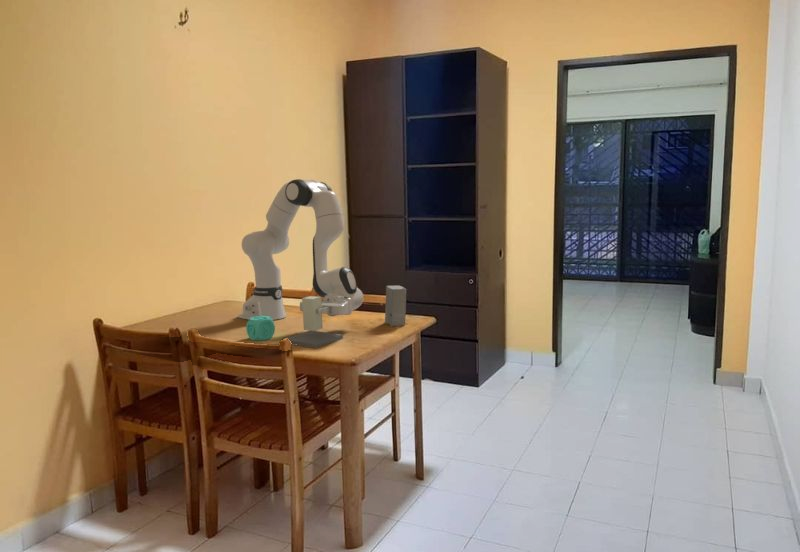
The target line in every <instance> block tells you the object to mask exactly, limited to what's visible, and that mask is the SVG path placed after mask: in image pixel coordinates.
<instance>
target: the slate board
mask: <svg viewBox="0 0 800 552" xmlns="http://www.w3.org/2000/svg"><path fill="white" fill-rule="evenodd" d="M287 338H288V339H289V340H290V341H291V343H292V344H297V345H296V346H299V345H301V346H300V347H305V346H307V347H308V348H312V347H313V349H314V348H315V349H318V348H320V346H321V347H323V346H327V345H328V344H331V343H335V342H338V341H340V340H343V339H344V334H343V333H334V332H326V331H318V330H316V331H310V330H305V332H301V333H298V334H294V335H291V336H287ZM292 344H291V345H292Z"/></svg>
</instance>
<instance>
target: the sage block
mask: <svg viewBox="0 0 800 552" xmlns="http://www.w3.org/2000/svg"><path fill="white" fill-rule="evenodd" d="M301 300H302V301H301V302H302V306H303V311H302V323H303V324H302V325H303V330H304V331H318V330H322V329H323V325H324V324H323V313H322V314H316V309H319V308H320V309H321V308H322V304H321V300H322V297H321V296H314V295H309V296H306V297H302V298H301Z"/></svg>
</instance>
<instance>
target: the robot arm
mask: <svg viewBox="0 0 800 552" xmlns="http://www.w3.org/2000/svg"><path fill="white" fill-rule="evenodd" d="M300 207H306V208H312V209H313V211H314V216H315V217H314V218H315V223H316V227H315V233H314V236H313V238H312V265H313V266H312V267H313V276H312V289H313V291H314V293H316V294H317V295H318V297H321V298H323V299H321V304H322V308H321V309H320V308H319V309H316V314H322V315H323V314H324V315H327V316H329V317H336V316H337V317H338V316H349V315H352V311H355V310H356V309H358V308H359V307H360V306H362V304H363V302H364V293H363V291H362V290H361V289H360V288H358V283H357V277H356V275H355V273H354V272H353V271H352V269H350V268H348V267H346V266H342V267H338V268H335V269H332V270H328V256H327V255H328V254H327V253H328V249H329V248H330V246H331V245H332V244H333V243H334V242H335V241H336V240H337V239H339V238H340V237H341V235H342V234H343V232H344V229H345V221H344V215H343V214H344V213H343V210H342V207H341V203H340V200H339V198H338V196H337V194H336V193H335V192H334V191H333V189H332V187H331V186H330V185H328V184H327V183H325V182H323V181H318V180H315V179H314V180H312V179H300V178H298V179H292V180H290V181H289V182H286V183H284V184H283V185H282V187H280V189H279V191H278V192H277V194H276V195H275V197H274V198H273V201H272V202H271V204H270V207H269V208H268V211H267V212H266V214H265V218H266V221H267V226H266V228H265V229H264V230H257V231H253V232H250V233H248V234H246V235H245V236H243V238H242V240H241V250H242V251H243V253H244V254H246V255H247V256H248V258H249V260H250V261H251V264H252V266H253V271H254V278H255V279H254V282H255V286H254V287H252V288H251V290H250V291H251V292H252V295H251V296H250V297H249V298H248V299H247V300H246V301H245V302H244V303H243V305H242V313H241V312H240V313H239V314H237V318H239V319H242V320H243V319H244V320H247V321H248V320H249V319H250V318H252V317H256V316H269V317H270V318H271V319H272V320H273V321H275V320H280V319H285V318H286V317H287V314H286V310H285V305H284V300H283V286H282V280H281V269H280V266H278V265H277V264H276V263H275V261H274V257H273V255H277V254H280V253H282V252H284V251H286V250H287V249H288V247H289V245H290V237H289V235H288V233H289V229H290V226H291V225H292V222H293V220H294V219H295V216H296V214H297V213H298V211H299V209H300ZM299 311H301V312H303V306H302V301H300V302H299Z"/></svg>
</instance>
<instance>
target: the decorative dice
mask: <svg viewBox="0 0 800 552" xmlns="http://www.w3.org/2000/svg"><path fill="white" fill-rule="evenodd" d="M246 322H247V323H246V325H245V326H246V327H245V329H246V334H247V337H248V338H249V339H250V340H251V341H255V342H256V341H257V342H258V341H267V340H271V338H273V336H274V335H275V330H276V328H275V327H276V325H275V321H274V320H272V319H271V318H270V317H269V316H256V317H252V318H250V319H249V320H247V321H246Z"/></svg>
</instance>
